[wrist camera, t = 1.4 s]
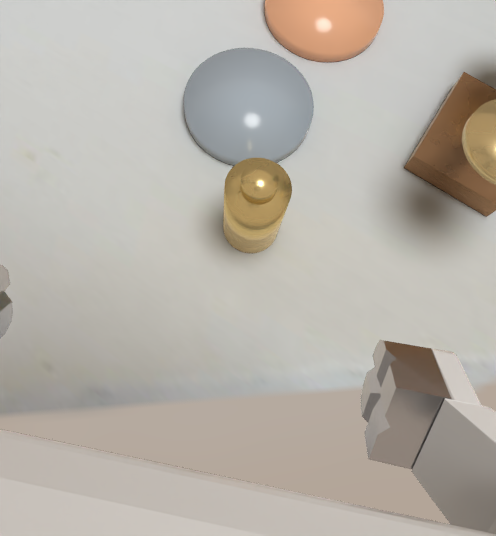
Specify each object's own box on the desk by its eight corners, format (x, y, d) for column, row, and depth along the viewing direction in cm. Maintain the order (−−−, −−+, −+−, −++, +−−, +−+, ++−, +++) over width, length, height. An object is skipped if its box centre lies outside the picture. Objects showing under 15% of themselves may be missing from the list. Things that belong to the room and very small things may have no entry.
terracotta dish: (242, 23, 42) (242, 12, 40) (302, -50, 45) (304, -62, 43) (344, 82, 41) (347, 73, 39) (399, 3, 44) (403, -7, 42)
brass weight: (212, 234, 36) (211, 187, 28) (242, 192, 37) (249, 136, 29) (259, 263, 35) (271, 224, 27) (287, 220, 37) (307, 171, 29)
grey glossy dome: (159, 123, 38) (157, 115, 37) (230, 37, 41) (230, 27, 40) (268, 191, 37) (269, 184, 36) (333, 97, 40) (336, 89, 39)
